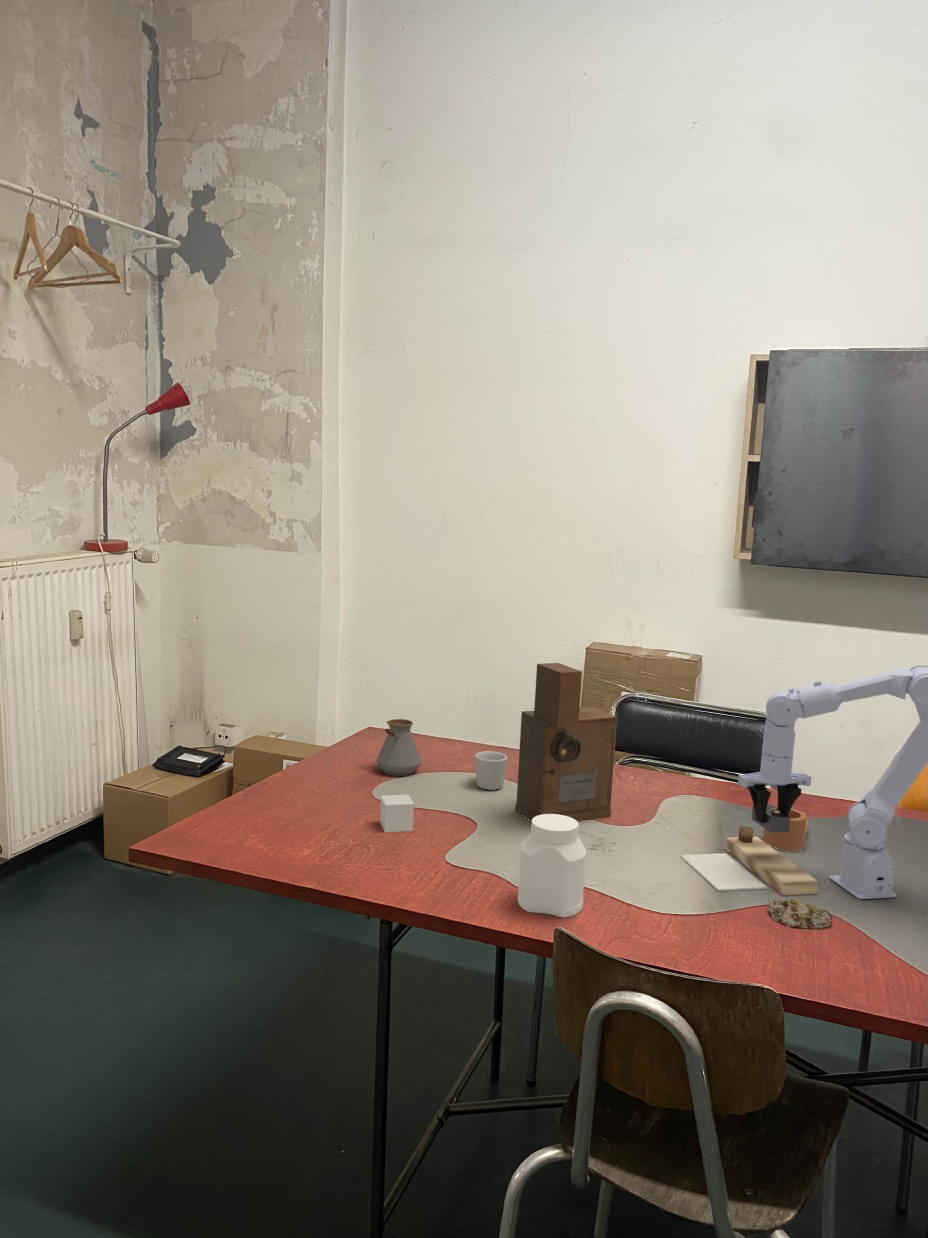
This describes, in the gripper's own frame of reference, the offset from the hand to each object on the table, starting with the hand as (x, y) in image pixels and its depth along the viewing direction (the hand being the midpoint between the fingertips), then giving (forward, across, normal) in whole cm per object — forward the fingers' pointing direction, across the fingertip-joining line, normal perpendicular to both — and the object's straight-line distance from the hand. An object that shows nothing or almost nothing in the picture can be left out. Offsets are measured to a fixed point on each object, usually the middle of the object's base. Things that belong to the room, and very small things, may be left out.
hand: (770, 821), depth 178 cm
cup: (+11, +44, -55) cm, 71 cm away
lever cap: (+1, 0, 0) cm, 1 cm away
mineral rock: (+11, +5, +20) cm, 23 cm away
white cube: (+11, +70, -30) cm, 76 cm away
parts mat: (+10, +10, 0) cm, 14 cm away
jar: (+10, +48, +9) cm, 50 cm away
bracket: (+11, -14, -17) cm, 24 cm away
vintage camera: (+10, +32, -33) cm, 47 cm away
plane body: (+10, 0, 0) cm, 10 cm away
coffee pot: (+11, +66, -63) cm, 91 cm away
